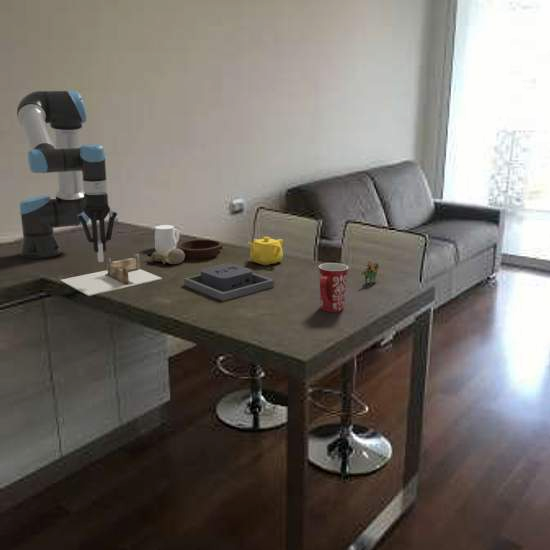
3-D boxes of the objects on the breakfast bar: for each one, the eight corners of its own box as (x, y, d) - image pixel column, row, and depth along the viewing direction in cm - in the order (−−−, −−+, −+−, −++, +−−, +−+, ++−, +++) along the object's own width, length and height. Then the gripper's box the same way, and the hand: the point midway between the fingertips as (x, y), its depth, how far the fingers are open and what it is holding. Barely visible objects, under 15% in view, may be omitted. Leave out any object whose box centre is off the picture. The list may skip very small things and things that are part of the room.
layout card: (60, 280, 214) (60, 279, 214) (131, 266, 232) (131, 264, 232) (88, 296, 198) (88, 294, 198) (162, 279, 216) (162, 277, 216)
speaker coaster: (184, 285, 210) (183, 278, 209) (234, 273, 224) (233, 266, 223) (222, 301, 194) (222, 293, 194) (273, 287, 208) (273, 280, 208)
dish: (234, 255, 249) (234, 243, 247) (189, 265, 235) (189, 252, 233) (210, 247, 261) (210, 236, 260) (165, 256, 247) (165, 244, 246)
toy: (144, 264, 238) (174, 266, 230) (143, 249, 237) (173, 251, 229) (161, 259, 246) (190, 261, 239) (160, 245, 245) (189, 246, 238)
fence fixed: (109, 276, 219) (108, 259, 217) (107, 275, 220) (105, 258, 218) (140, 270, 227) (139, 253, 225) (138, 269, 228) (137, 252, 227)
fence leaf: (109, 275, 218) (108, 261, 217) (113, 274, 219) (112, 260, 218) (124, 283, 208) (123, 269, 207) (129, 282, 209) (128, 268, 208)
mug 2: (325, 301, 195) (326, 261, 191) (351, 306, 190) (353, 265, 186) (306, 313, 184) (307, 270, 180) (333, 318, 180) (335, 275, 176)
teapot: (280, 268, 230) (280, 242, 227) (247, 267, 232) (246, 241, 229) (284, 259, 243) (284, 234, 240) (252, 257, 245) (252, 232, 242)
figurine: (381, 280, 216) (382, 258, 214) (363, 288, 208) (365, 265, 205) (373, 278, 218) (375, 256, 216) (356, 286, 209) (357, 263, 207)
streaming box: (229, 275, 222) (228, 262, 220) (255, 284, 212) (255, 270, 210) (197, 284, 212) (197, 270, 210) (223, 294, 202) (223, 279, 200)
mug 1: (161, 230, 250) (149, 227, 255) (162, 252, 252) (150, 248, 258) (183, 225, 258) (172, 223, 263) (184, 246, 261) (173, 243, 266)
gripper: (77, 196, 194) (83, 266, 202) (118, 193, 200) (122, 261, 207) (73, 192, 200) (79, 260, 208) (112, 189, 206) (117, 255, 214)
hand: (100, 260), depth 208 cm, fingers closed
